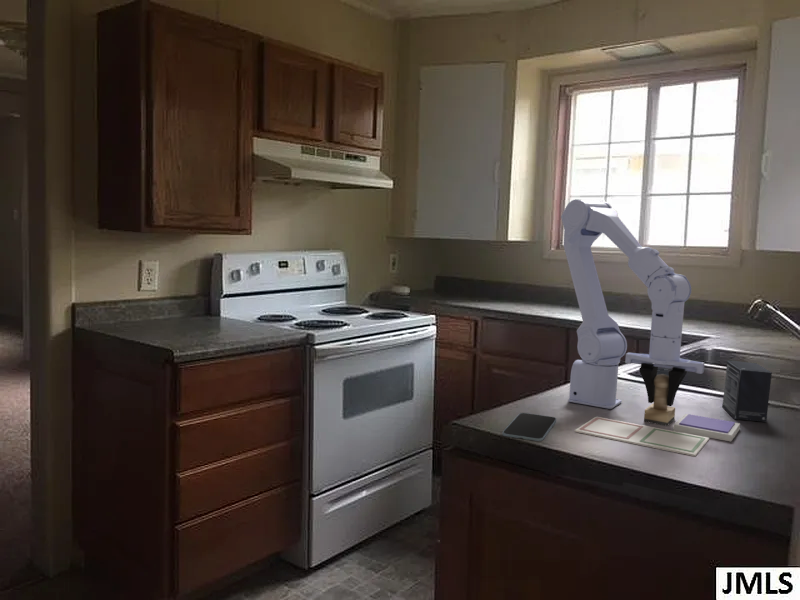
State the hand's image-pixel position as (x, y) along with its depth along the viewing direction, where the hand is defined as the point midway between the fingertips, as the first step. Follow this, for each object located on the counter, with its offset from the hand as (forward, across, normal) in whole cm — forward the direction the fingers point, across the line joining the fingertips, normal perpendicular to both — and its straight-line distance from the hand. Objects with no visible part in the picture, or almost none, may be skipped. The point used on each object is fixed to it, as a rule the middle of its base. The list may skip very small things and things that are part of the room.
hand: (660, 403), depth 137 cm
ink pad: (+3, +9, -1) cm, 10 cm away
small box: (+4, +13, +17) cm, 22 cm away
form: (+3, 0, -13) cm, 13 cm away
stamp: (+3, 0, 0) cm, 3 cm away
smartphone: (+4, -18, -22) cm, 29 cm away
